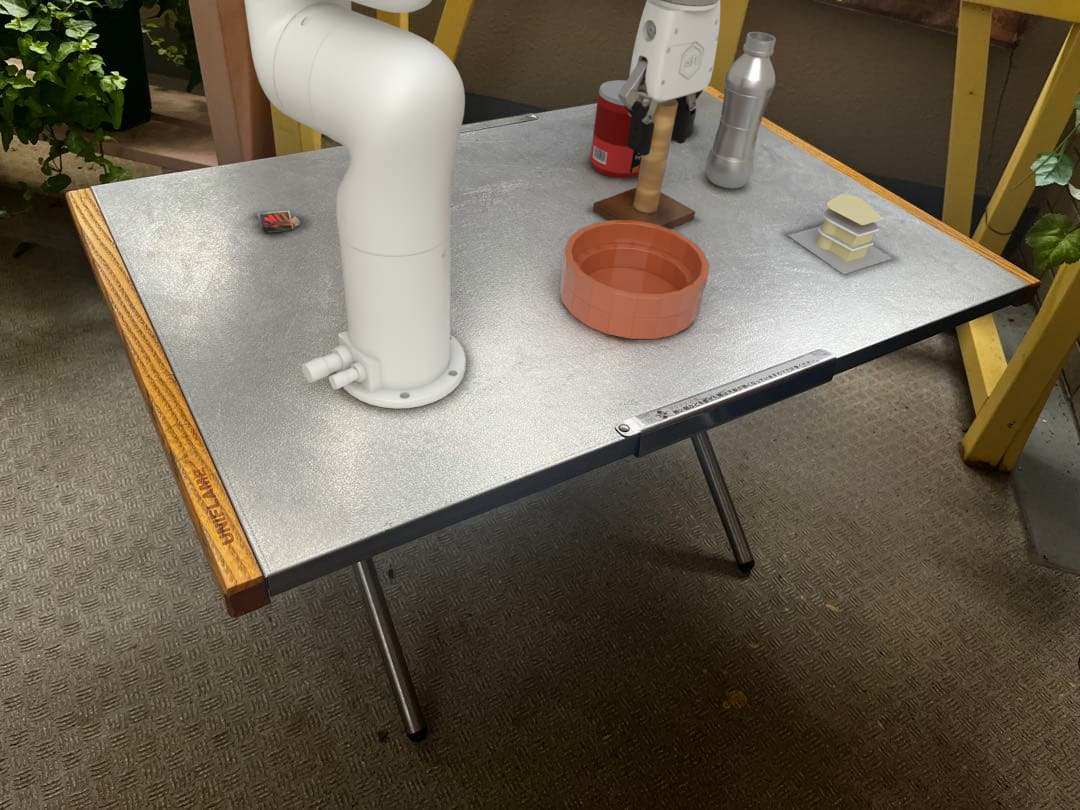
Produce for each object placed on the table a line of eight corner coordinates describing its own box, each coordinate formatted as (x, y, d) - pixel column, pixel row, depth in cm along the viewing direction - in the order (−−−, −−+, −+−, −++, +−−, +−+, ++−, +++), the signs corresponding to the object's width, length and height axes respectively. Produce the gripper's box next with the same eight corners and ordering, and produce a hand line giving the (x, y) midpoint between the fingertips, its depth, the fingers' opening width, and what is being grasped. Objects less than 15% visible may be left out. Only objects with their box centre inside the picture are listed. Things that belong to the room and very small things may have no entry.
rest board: (641, 241, 101) (643, 232, 100) (592, 211, 106) (593, 202, 105) (693, 219, 106) (695, 211, 105) (644, 191, 111) (646, 183, 110)
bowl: (629, 363, 82) (638, 316, 78) (531, 291, 91) (535, 245, 87) (725, 312, 91) (738, 267, 87) (627, 251, 99) (635, 207, 95)
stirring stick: (645, 215, 103) (665, 108, 94) (628, 205, 105) (646, 99, 96) (662, 208, 105) (683, 103, 96) (644, 198, 107) (664, 93, 97)
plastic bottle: (721, 197, 111) (759, 48, 98) (692, 176, 116) (725, 30, 102) (757, 189, 114) (798, 43, 100) (727, 169, 118) (763, 26, 105)
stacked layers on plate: (892, 258, 102) (909, 220, 99) (843, 274, 99) (859, 235, 95) (835, 222, 109) (849, 184, 105) (787, 235, 105) (799, 197, 101)
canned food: (641, 183, 113) (655, 105, 105) (585, 173, 113) (595, 96, 106) (646, 160, 118) (660, 85, 111) (593, 151, 119) (603, 76, 112)
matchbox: (267, 236, 94) (266, 232, 94) (251, 217, 97) (250, 213, 97) (304, 227, 97) (304, 223, 96) (288, 208, 100) (287, 205, 99)
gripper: (656, 7, 81) (629, 174, 93) (761, -14, 90) (723, 141, 102) (605, -14, 85) (585, 149, 97) (710, -32, 94) (679, 119, 106)
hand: (656, 143), depth 99 cm, fingers open, 5 cm apart
